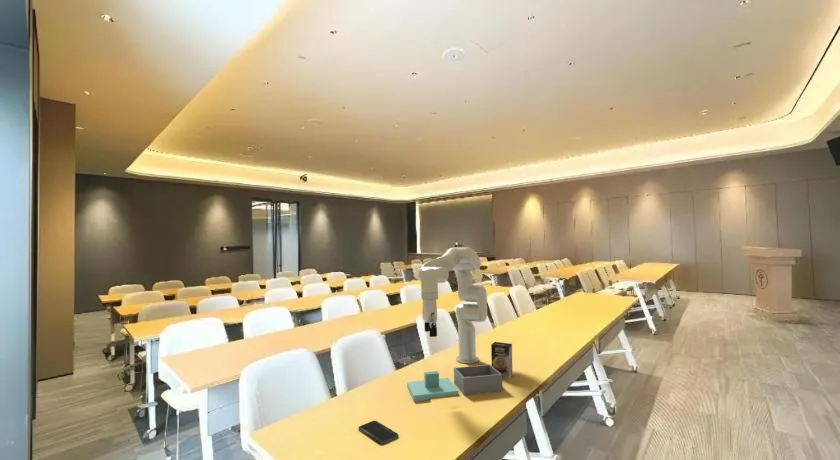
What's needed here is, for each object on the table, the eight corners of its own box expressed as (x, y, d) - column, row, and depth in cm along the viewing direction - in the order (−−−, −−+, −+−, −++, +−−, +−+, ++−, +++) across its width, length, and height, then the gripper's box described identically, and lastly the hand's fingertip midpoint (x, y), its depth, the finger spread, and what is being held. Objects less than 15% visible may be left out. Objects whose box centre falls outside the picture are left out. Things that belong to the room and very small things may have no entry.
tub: (454, 385, 175) (453, 367, 175) (490, 381, 178) (489, 364, 179) (463, 397, 161) (463, 378, 161) (502, 392, 165) (502, 374, 165)
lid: (407, 387, 173) (406, 369, 173) (448, 383, 177) (447, 365, 177) (413, 401, 158) (413, 381, 158) (458, 396, 162) (458, 376, 162)
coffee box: (491, 377, 183) (490, 344, 184) (495, 373, 189) (494, 341, 189) (509, 380, 179) (508, 346, 180) (513, 376, 185) (512, 343, 185)
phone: (381, 443, 124) (357, 427, 135) (381, 446, 124) (357, 430, 135) (399, 434, 129) (375, 419, 141) (400, 438, 129) (375, 422, 141)
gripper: (417, 293, 176) (418, 330, 176) (425, 299, 159) (426, 339, 159) (433, 292, 178) (434, 328, 178) (442, 298, 161) (443, 338, 161)
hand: (430, 333), depth 168 cm, fingers open, 9 cm apart
